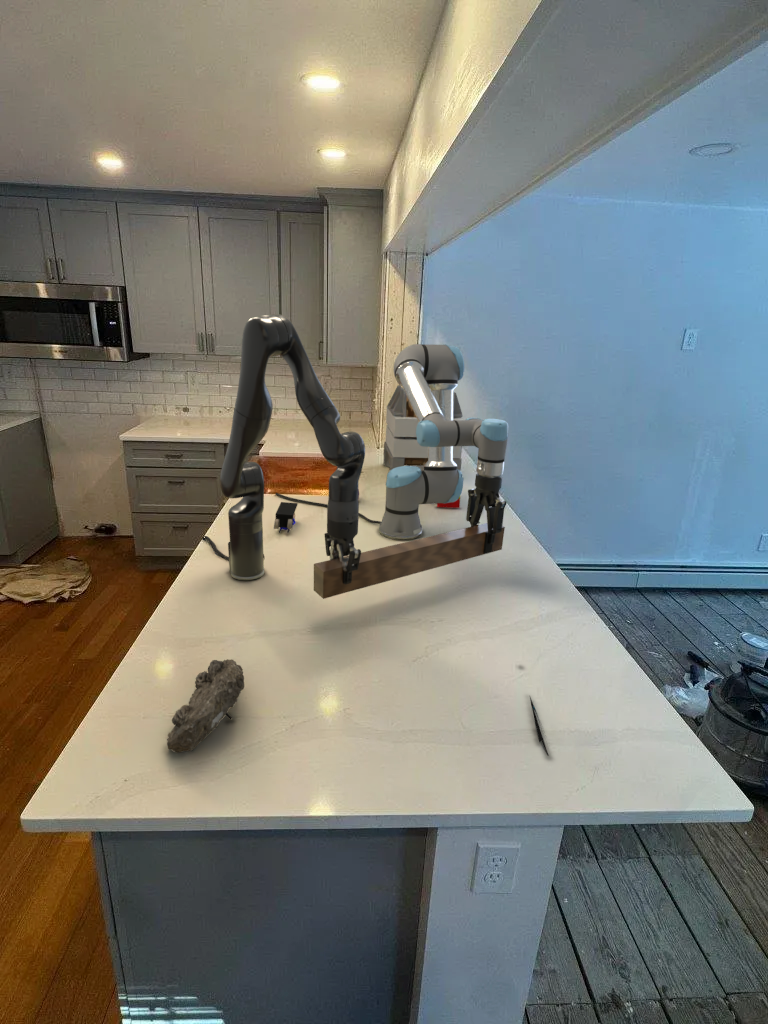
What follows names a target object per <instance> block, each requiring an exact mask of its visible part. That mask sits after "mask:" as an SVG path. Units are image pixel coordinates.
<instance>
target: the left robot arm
mask: <svg viewBox="0 0 768 1024" xmlns="http://www.w3.org/2000/svg"><path fill="white" fill-rule="evenodd" d="M240 355H241V357H240V371H239V379H238V386H237V392H236V398H235V403H234V407H233V413H232V423H231V430H230V434H229V439H228V444H227V449H226V452H225V455H224V459H223V463H222V465H221V470H220V474H219V475H220V476H219V485H220V490H221V493H222V495H224V497H226V498H228V499H240V498H241V499H240V500H239V501H238V502H236V504H234V505H232V506H231V507H230V508H229V509H228V513H227V515H228V531H229V532H228V533H229V541H228V542H227V549H228V551H227V552H228V556H226V554H223V553H222V552H221V551H220V550H219V549H218V548H217V545H216V544H215V542H214V541H213V540H212V539H211V538H210V537H209V536H207V535H204V536H202V538H201V541H204V540H206V541H207V542H208V543H209V544H210V545H211V546H212V549H213V550H214V552H215V553H216V554H217V555H218V556H219V557H220V558H223V559H225V560H227V561H228V568H229V569H228V570H229V573H230V576H231V577H232V578H233V579H235V580H238V581H254V580H257V579H260V578H261V577H263V576H264V574H265V565H264V563H265V562H264V561H265V554H264V533H263V531H264V530H263V512H264V508H265V507H264V506H265V476H264V472H263V470H262V467H261V465H259V463H258V462H256V461H247V459H248V457H249V456H250V454H251V453H252V452H253V450H254V449H255V448H256V447H257V446H258V445H259V444H260V443H261V442H262V440H263V439H264V438H265V436H266V435H267V433H268V431H269V429H270V426H271V425H270V424H271V420H272V416H273V411H274V410H273V409H274V404H273V400H272V396H271V394H270V392H269V389H268V387H267V384H266V372H267V366H268V363H269V359H270V358H272V357H277V356H280V357H281V358H282V359H283V360H284V361H285V363H286V364H287V365H288V367H289V368H290V371H291V374H292V377H293V384H294V385H293V386H294V393H295V399H296V402H297V405H298V407H299V408H300V410H301V412H302V413H303V415H304V416H305V418H306V420H307V421H308V422H309V424H310V426H311V427H312V428H313V431H314V436H315V438H316V442H317V444H318V447H319V450H320V452H321V454H322V456H323V457H324V459H325V460H326V462H328V463H329V464H330V465H332V466H334V467H336V469H335V470H334V471H333V473H332V474H331V475H330V476H329V479H328V498H327V499H328V500H327V505H328V506H327V507H326V532H325V533H324V534H323V535H324V543H325V552H326V557H329V560H332V559H336V558H340V561H341V562H342V565H343V583H344V584H349V583H351V582H352V571H354V570H358V566H359V561H360V556H361V553H362V550H361V549H360V548H358V549H357V548H356V547H355V541H354V539H355V537H356V536H357V535H358V534H359V516H358V515H359V513H360V506H359V505H360V504H359V499H358V489H359V480H360V477H361V473H362V470H363V466H364V462H365V457H366V445H365V441H364V439H363V437H362V435H360V433H358V432H356V431H350V430H349V431H345V432H342V433H341V432H340V430H339V427H338V424H339V422H340V421H341V414H340V412H339V410H338V409H337V407H336V405H335V404H334V402H333V401H332V399H331V398H330V396H329V395H328V393H327V392H326V390H325V388H324V387H323V385H322V384H321V382H320V380H319V378H318V376H317V374H316V372H315V370H314V368H313V365H312V363H311V361H310V359H309V356H308V354H307V351H306V349H305V347H304V345H303V343H302V341H301V338H300V336H299V333H298V332H297V329H296V328H295V326H294V323H292V321H291V320H290V319H289V318H288V317H287V316H286V315H284V314H281V313H280V314H278V313H273V314H265V315H256V316H253V317H251V318H249V319H248V320H247V321H246V323H245V325H244V328H243V332H242V339H241V353H240ZM246 461H247V462H246ZM204 537H205V538H204ZM345 556H349V557H347V558H344V557H345ZM347 561H348V565H346V562H347Z"/></svg>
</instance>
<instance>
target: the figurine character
mask: <svg viewBox="0 0 768 1024" xmlns="http://www.w3.org/2000/svg"><path fill="white" fill-rule="evenodd" d="M297 507H298V502H287V501H285V502H284V501H281V502H280V504H279V506H278V508H277V510H276V512H275V519H274V523H273V528H274V529H275V530H278V533H279V534H281V533H282V531H286V534H289V533H290V530H292V529H293V527H294V526H295V525H296V524H297V521H296V513H295V512H296V510H297Z"/></svg>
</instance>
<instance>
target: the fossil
mask: <svg viewBox="0 0 768 1024" xmlns="http://www.w3.org/2000/svg"><path fill="white" fill-rule="evenodd" d="M243 670H244V669H243V667H242V665H240V664H237V662H236V661H235V660H234V659H232V658H231V659H227V658H226V659H224V660H223V661H222V660H217V659H212V660H211V661H210V663H209V665H208V666H207V671H201V672H199V673H198V674H197V675H196V676H195V680H194V684H195V685H194V687H195V689H194V690H193V693H192V694H191V697H190V698H189V700H188V704H184V705H182V706H181V707H180V709H177V710H176V711H175V713H174V715H173V716H172V718H171V723H172V724H173V727H172V730H171V731H170V732H168V734H167V738H166V741H167V742H166V745H167V749H168V750H169V751H173V752H174V753H176V754H178V753H182V752H188V751H189V752H192V751H193V750H195V748H196V747H197V746H199V744H200V743H201V742H203V741H204V740H205V739H206V738H207V737H208V736H209V735H210V734H211V733H212V732H214V730H215V729H217V727H218V726H219V724H220V722H221V721H222V720H223V719H224V718H225V716H226V717H227V719H229V720H233V717H232V715H230V714H229V710H230V709H231V708H234V706H235V704H236V703H237V702H238V699H239V697H240V695H241V693H242V691H243V690H245V689H244V688H245V675H244V671H243Z"/></svg>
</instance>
